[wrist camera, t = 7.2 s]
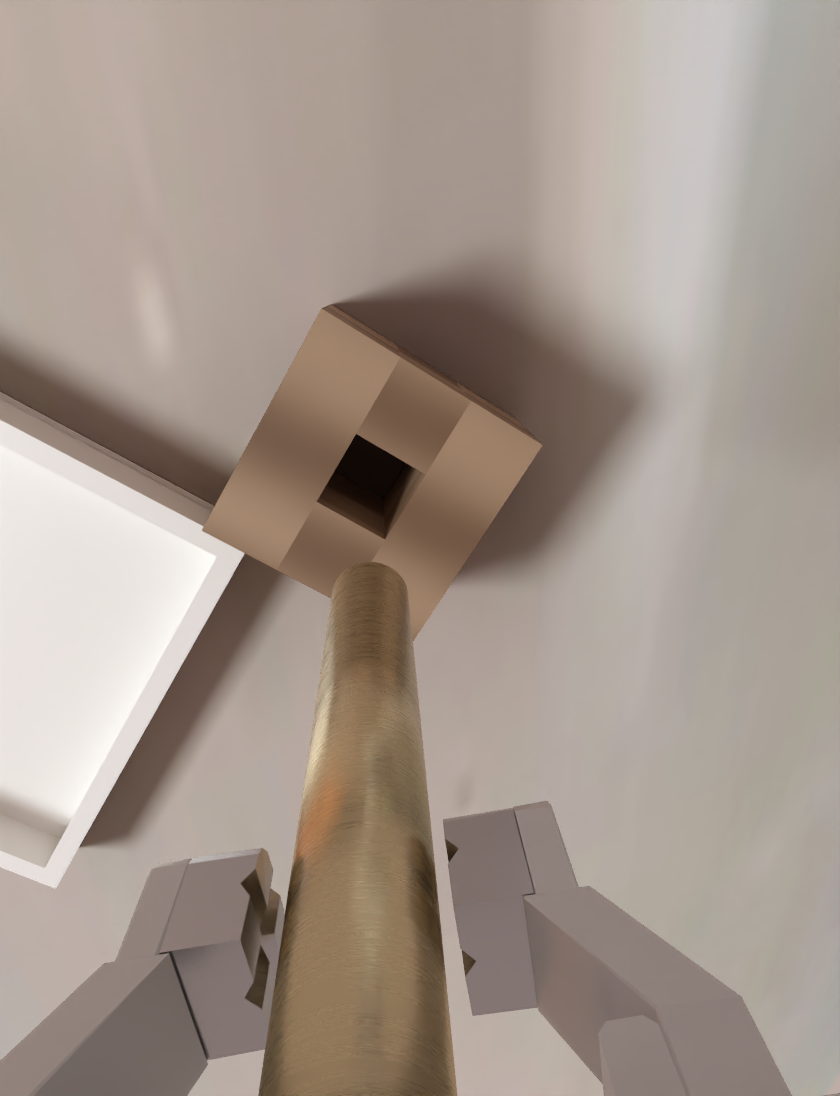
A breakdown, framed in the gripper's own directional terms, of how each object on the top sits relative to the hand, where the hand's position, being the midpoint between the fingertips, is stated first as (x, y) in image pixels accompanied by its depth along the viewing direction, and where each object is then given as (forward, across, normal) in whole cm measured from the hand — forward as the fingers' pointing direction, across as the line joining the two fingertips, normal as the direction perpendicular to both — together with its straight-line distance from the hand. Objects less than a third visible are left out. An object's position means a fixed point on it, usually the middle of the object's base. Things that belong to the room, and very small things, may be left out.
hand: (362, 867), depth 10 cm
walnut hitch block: (+27, 0, 0) cm, 27 cm away
